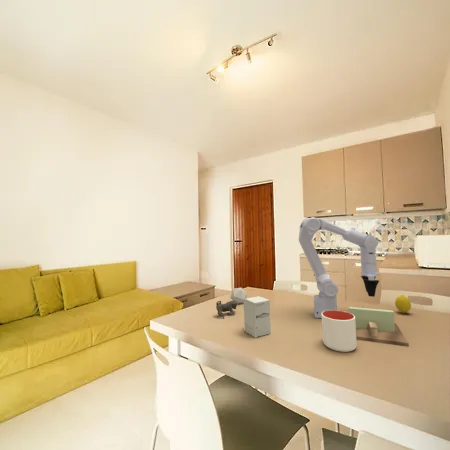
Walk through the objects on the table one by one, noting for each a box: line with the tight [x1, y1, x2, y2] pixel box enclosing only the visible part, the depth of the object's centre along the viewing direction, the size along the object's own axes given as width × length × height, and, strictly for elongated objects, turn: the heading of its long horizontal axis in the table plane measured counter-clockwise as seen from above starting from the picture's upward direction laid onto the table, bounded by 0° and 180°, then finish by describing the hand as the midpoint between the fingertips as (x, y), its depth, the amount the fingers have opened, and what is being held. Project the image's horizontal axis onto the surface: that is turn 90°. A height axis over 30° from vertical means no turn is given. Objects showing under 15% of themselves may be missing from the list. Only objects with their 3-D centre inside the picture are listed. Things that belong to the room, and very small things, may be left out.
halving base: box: [356, 322, 410, 347], centre depth 88 cm, size 18×18×4 cm
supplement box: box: [243, 295, 272, 338], centre depth 91 cm, size 7×7×13 cm
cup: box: [321, 309, 358, 353], centre depth 78 cm, size 10×10×10 cm
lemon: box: [394, 294, 412, 314], centre depth 105 cm, size 6×6×8 cm
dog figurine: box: [215, 300, 239, 319], centre depth 112 cm, size 12×6×8 cm, turn 122°
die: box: [229, 287, 248, 305], centre depth 130 cm, size 8×9×10 cm
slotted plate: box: [348, 306, 395, 332], centre depth 88 cm, size 14×2×7 cm, turn 65°
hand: (370, 294), depth 104 cm, fingers open, 7 cm apart
